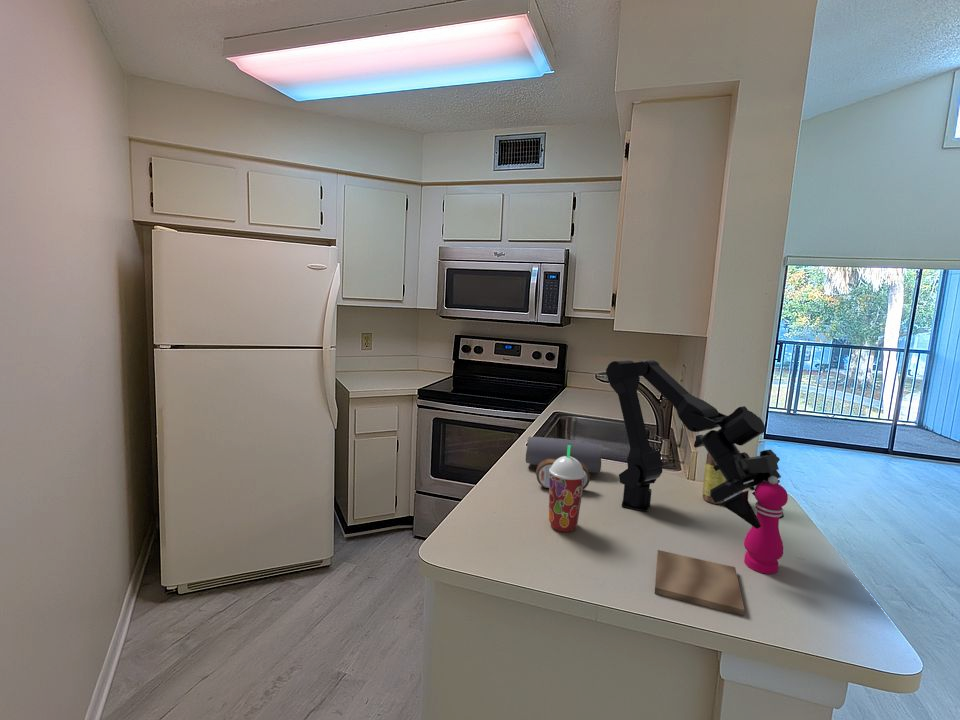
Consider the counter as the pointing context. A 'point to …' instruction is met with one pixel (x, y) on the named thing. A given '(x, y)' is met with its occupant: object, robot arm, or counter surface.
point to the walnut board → (698, 582)
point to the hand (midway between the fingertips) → (770, 522)
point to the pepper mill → (766, 528)
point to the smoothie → (565, 492)
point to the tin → (543, 473)
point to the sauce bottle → (711, 478)
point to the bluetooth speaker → (563, 451)
